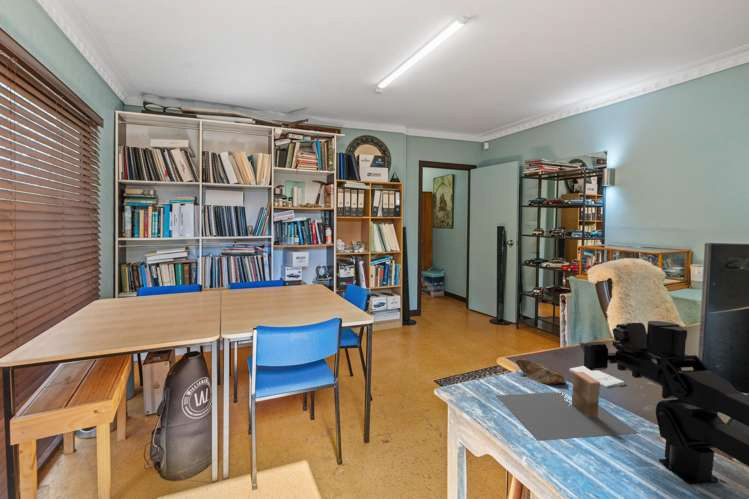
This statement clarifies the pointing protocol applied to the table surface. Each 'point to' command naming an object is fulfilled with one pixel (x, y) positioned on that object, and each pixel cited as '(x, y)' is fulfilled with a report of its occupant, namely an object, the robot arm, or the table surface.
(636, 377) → the robot arm
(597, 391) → the walnut slab
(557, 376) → the decorative stone
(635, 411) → the table surface
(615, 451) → the table surface
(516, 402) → the rubber mat
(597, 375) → the external hard drive
